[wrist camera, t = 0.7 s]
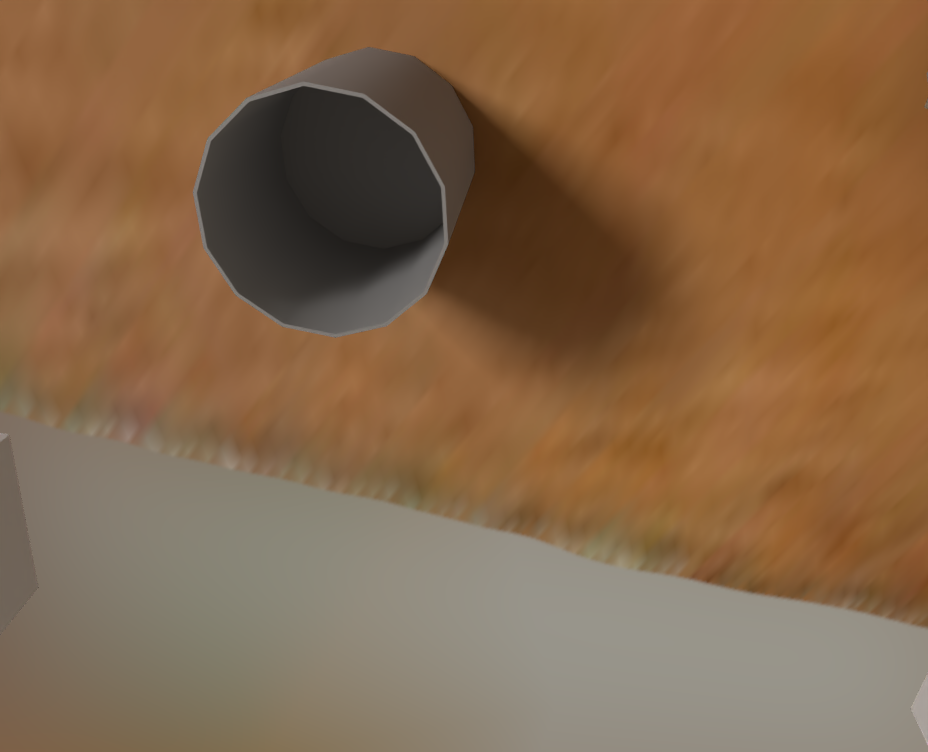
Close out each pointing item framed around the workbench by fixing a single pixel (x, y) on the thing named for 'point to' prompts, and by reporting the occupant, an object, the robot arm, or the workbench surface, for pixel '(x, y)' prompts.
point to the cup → (337, 191)
